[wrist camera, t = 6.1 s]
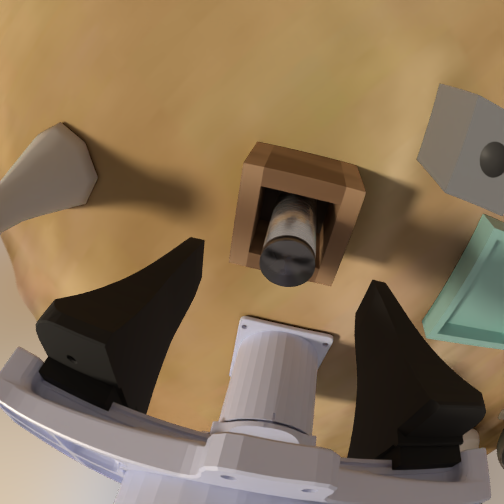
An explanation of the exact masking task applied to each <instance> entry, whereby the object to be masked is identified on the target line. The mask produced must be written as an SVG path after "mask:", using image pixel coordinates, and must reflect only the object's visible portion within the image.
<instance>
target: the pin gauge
mask: <svg viewBox="0 0 504 504" xmlns="http://www.w3.org/2000/svg"><path fill="white" fill-rule="evenodd" d="M316 214H317V199H314V198H310V197H306V196H302V195H298V194H294V193H289V192H285V191H281V190H279V191H278V194H277V198H276V202H275V205H274V209H273V213H272V216H271V220H270V224H269V227H268V231H267V235H266V238H265V242H264V245H263V249H262V253H261V256H260V261H259V264H260V269H261V271H262V273H263V275H264V276H265V277H266V278H267V279H268V280H269V281H271V282H272V283H274V284H277V285H280V286H284V287H294V286H298V285H301V284H303V283H305V282H307V281H308V280H309V279H310V278H311V277H312V275H313V273H314V271H315V258H316Z"/></svg>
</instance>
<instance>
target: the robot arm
mask: <svg viewBox="0 0 504 504" xmlns="http://www.w3.org/2000/svg"><path fill="white" fill-rule="evenodd" d="M204 241H205V240H201V239H197V238H192V237H190V238H189V239H187V240H186V241H184V242H183V243H181V244H180V245H179V246H177V247H176V248H174V249H173V250H172V251H170V252H169V253H167V254H166V255H164V256H163V257H161V258H160V259H158V260H157V261H155V262H154V263H152V264H150V265H149V266H147V267H145V268H144V269H142V270H140V271H138V272H137V273H135V274H133V275H131V276H129V277H126V278H124V279H122V280H120V281H117V282H115V283H112V284H110V285H107V286H105V287H102V288H99V289H96V290H93V291H90V292H86V293H83V294H79V295H74V296H69V297H64V298H59V299H55V300H54V301H53V303H52V304H51V305H50V306H49V307H48V309H47V310H46V311H45V312H44V314H43V315H42V316H41V317H40V319H39V320H38V321H37V323H36V332H37V335H38V338H39V340H40V342H41V344H42V346H43V348H44V349H45V351H46V353H47V355H48V358H47V359H46V361H45V362H43V361H42V360H41V359H40V358H39V357H37V356H35V355H34V354H32V353H30V352H28V351H26V350H25V349H23V348H21V347H17V348H16V350H15V351H14V353H13V354H12V355H11V357H10V358H9V360H8V361H7V362H6V364H5V365H4V367H3V368H2V370H1V371H0V408H1V409H2V410H3V411H4V412H5V413H6V414H7V415H8V416H9V417H10V418H11V419H12V420H13V421H14V422H15V423H17V424H18V425H20V426H21V427H22V428H24V429H26V430H27V431H29V432H30V433H32V434H33V435H35V436H36V437H38V438H39V439H41V440H42V441H44V442H46V443H47V444H49V445H50V446H52V447H54V448H55V449H57V450H58V451H60V452H62V453H63V454H65V455H67V456H69V457H70V458H72V459H74V460H76V461H77V462H79V463H81V464H83V465H85V466H86V467H88V468H90V469H92V470H94V471H96V472H98V473H100V474H102V475H104V476H106V477H108V478H110V479H113V480H114V481H116V482H119V483H121V486H120V488H119V491H118V493H117V495H116V498H115V501H114V503H113V504H481V503H483V502H485V501H487V500H489V499H490V498H491V489H490V479H489V470H488V462H487V455H486V448H476V449H467V450H464V451H461V452H460V446H459V445H462V444H463V442H464V441H463V435H464V434H465V433H467V432H468V431H469V430H471V429H472V428H473V427H475V426H476V425H477V424H478V423H479V422H480V421H481V420H482V419H483V418H484V416H485V413H486V409H485V404H484V400H483V396H482V393H481V392H479V391H478V390H477V389H475V388H474V387H473V386H471V385H470V384H469V383H467V382H466V381H465V380H463V379H462V378H461V377H460V376H459V375H458V374H456V373H455V372H454V371H453V370H452V369H451V368H450V367H449V366H448V365H447V364H446V363H445V362H444V361H443V360H442V359H441V358H440V357H439V356H438V355H437V354H436V353H435V352H434V351H433V349H432V348H431V347H430V346H429V345H428V343H427V342H426V341H425V340H424V338H423V337H422V336H421V335H420V333H419V332H418V330H417V329H416V328H415V326H414V325H413V324H412V322H411V321H410V319H409V318H408V316H407V315H406V313H405V312H404V310H403V309H402V307H401V306H400V304H399V302H398V301H397V299H396V298H395V296H394V295H393V293H392V292H391V290H390V289H389V287H388V286H387V284H386V283H384V282H380V281H376V280H372V282H371V284H370V286H369V288H368V290H367V292H366V294H365V296H364V298H363V300H362V302H361V304H360V306H359V308H358V310H357V312H356V315H355V348H356V363H357V399H356V409H355V417H354V425H353V431H352V437H351V443H350V447H349V452H348V456H347V458H342V457H340V456H339V455H338V454H337V453H335V452H334V451H332V450H331V449H326V448H322V447H317V446H316V436H312V428H313V418H314V406H315V394H316V380H317V370H318V368H319V366H320V365H321V363H322V361H323V359H324V357H325V356H326V354H327V352H328V350H329V348H330V346H331V345H332V343H333V336H332V335H330V334H325V333H320V332H315V331H311V330H306V329H301V328H297V327H292V326H287V325H283V324H278V323H274V322H270V321H265V320H261V319H257V318H253V317H248V316H242V317H241V318H240V322H239V327H238V332H237V337H236V342H235V348H234V353H233V358H232V363H231V368H230V374H229V376H230V377H231V379H230V382H229V386H228V389H227V393H226V397H225V400H224V404H223V407H222V411H221V414H220V418H219V421H218V422H217V421H213V423H212V427H211V430H210V432H207V431H201V432H199V431H196V430H192V429H189V428H185V427H182V426H179V425H176V424H172V423H169V422H166V421H163V420H160V419H157V418H154V417H152V416H149V415H146V413H147V410H148V407H149V403H150V400H151V397H152V393H153V390H154V387H155V384H156V381H157V378H158V375H159V372H160V370H161V367H162V364H163V361H164V359H165V356H166V353H167V351H168V348H169V346H170V343H171V341H172V339H173V337H174V335H175V333H176V331H177V329H178V327H179V325H180V323H181V322H182V320H183V318H184V316H185V314H186V312H187V310H188V308H189V307H190V305H191V303H192V301H193V299H194V297H195V294H196V292H197V289H198V286H199V284H200V281H201V278H202V266H203V253H204ZM245 325H246V326H245Z"/></svg>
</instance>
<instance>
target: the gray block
mask: <svg viewBox="0 0 504 504" xmlns="http://www.w3.org/2000/svg"><path fill="white" fill-rule="evenodd" d="M417 160H418V162H419V163H420V164H421V165H422V166H423V167H424V168H425V170H426V171H427V172H428V173H429V174H430V175H431V177H432V178H433V179H434V180H435V181H436V183H437V184H438V185H439V186H440V187H441V189H442V190H443V191H444V192H445V193H447V194H450V195H452V196H455V197H457V198H460V199H462V200H465V201H467V202H470V203H472V204H475V205H477V206H480V207H482V208H484V209H487V210H489V211H491V212H494V213H496V214H498V215H500V216H503V214H504V109H503V108H501V107H499V106H498V105H496V104H494V103H492V102H491V101H489V100H487V99H485V98H483V97H482V96H480V95H478V94H474V93H471V92H468V91H465V90H462V89H458V88H455V87H451V86H448V85H444V84H439V88H438V91H437V95H436V99H435V102H434V106H433V109H432V113H431V116H430V119H429V123H428V126H427V129H426V132H425V136H424V139H423V142H422V145H421V148H420V151H419V154H418V157H417Z"/></svg>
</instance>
